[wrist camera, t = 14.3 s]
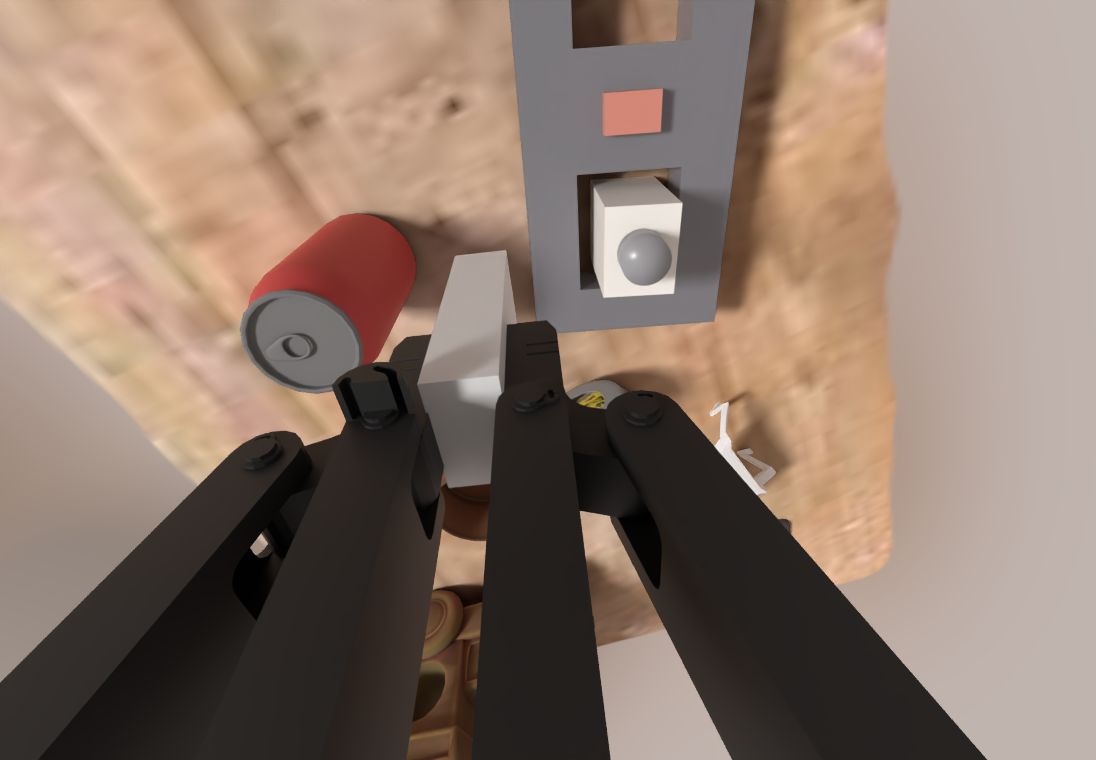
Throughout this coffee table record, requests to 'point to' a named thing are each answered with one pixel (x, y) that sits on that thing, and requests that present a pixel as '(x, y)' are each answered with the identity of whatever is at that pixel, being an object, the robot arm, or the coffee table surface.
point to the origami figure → (734, 461)
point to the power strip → (628, 149)
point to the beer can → (329, 303)
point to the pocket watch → (596, 393)
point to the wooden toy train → (447, 681)
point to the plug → (634, 236)
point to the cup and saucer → (466, 510)
